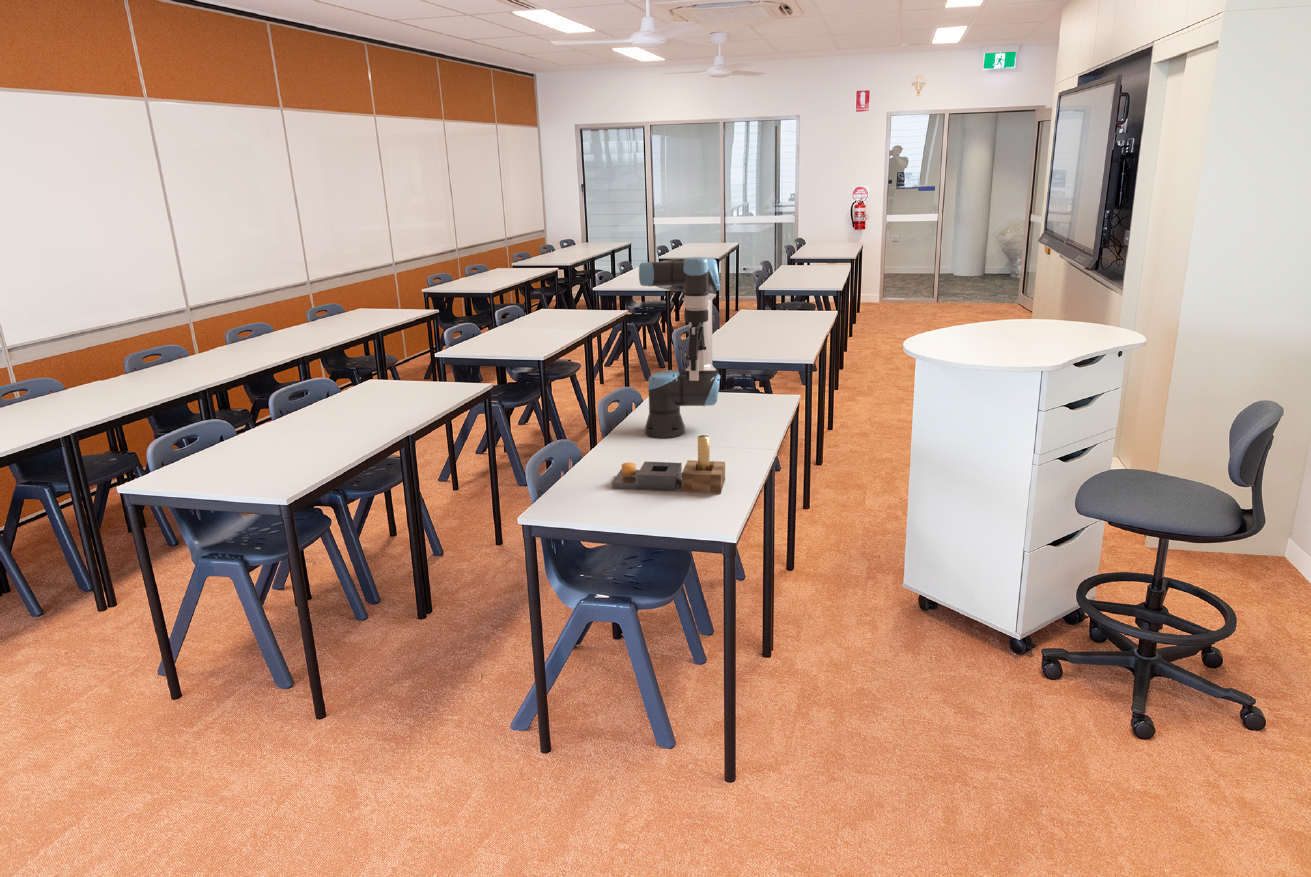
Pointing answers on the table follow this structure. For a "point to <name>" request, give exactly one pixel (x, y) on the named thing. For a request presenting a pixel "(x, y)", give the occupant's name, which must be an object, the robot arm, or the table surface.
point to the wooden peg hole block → (703, 478)
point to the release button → (628, 469)
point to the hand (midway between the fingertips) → (697, 375)
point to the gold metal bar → (703, 453)
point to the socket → (651, 477)
